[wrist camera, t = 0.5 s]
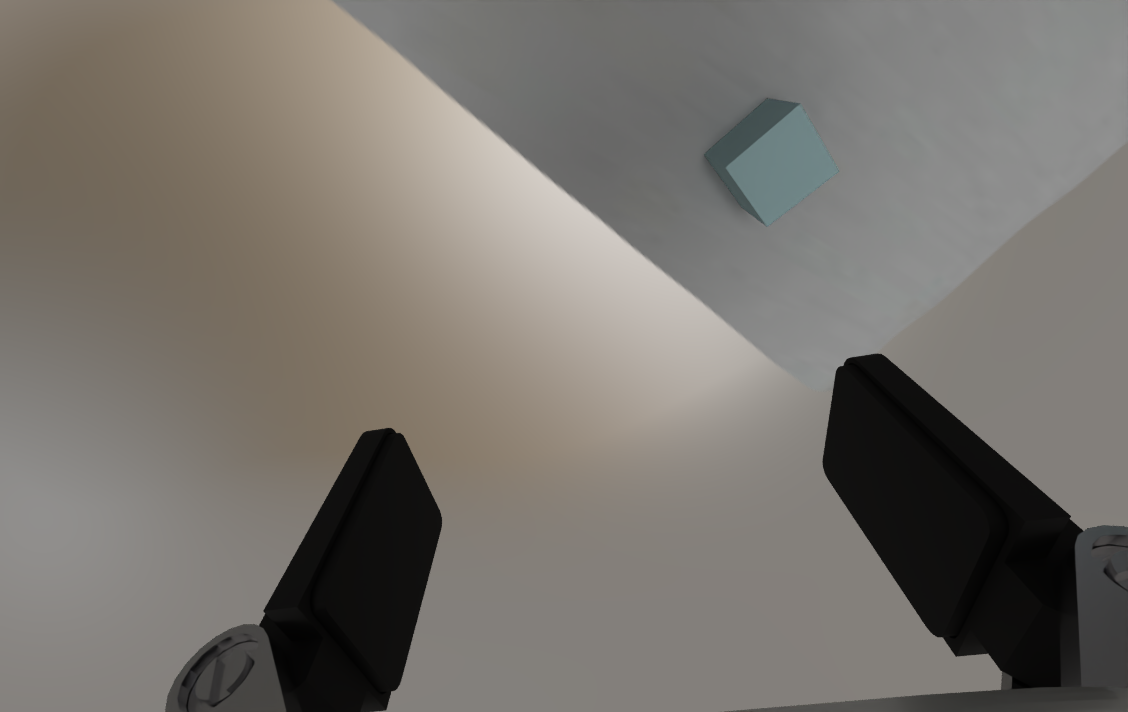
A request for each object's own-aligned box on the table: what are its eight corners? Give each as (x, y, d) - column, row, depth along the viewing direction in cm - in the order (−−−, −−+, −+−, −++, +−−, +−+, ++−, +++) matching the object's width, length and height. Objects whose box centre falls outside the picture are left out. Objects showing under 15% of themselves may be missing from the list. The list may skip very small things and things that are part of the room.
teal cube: (766, 98, 30) (800, 103, 26) (802, 157, 32) (839, 171, 28) (703, 154, 32) (725, 167, 28) (741, 207, 34) (767, 227, 30)
